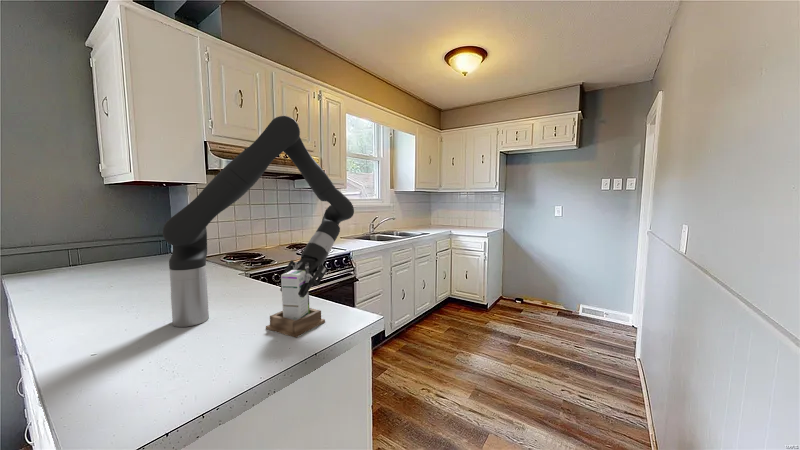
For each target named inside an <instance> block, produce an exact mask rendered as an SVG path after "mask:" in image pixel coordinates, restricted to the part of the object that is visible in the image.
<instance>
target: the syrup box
mask: <svg viewBox="0 0 800 450" xmlns="http://www.w3.org/2000/svg"><path fill="white" fill-rule="evenodd" d="M280 281H281V282H280V283H281V284H280V285H281V286H282V292H281V302H282V311H283V317H284V318H288V319H292V320H295V321H296V320H298V319H300V318H302V317H304V316H306V315H308V314H310V310H309V308H310V290H309V291H308V293H307V294H306V295H305V296H304V297H300V296H299V295H298V293H299V291H300V289H301V287H302V286H303V284H304V283H306V282H305V281H306V277H305V270H291V271H289V272H287V273H285V274H283V273H282V274H280Z"/></svg>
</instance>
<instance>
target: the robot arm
mask: <svg viewBox="0 0 800 450" xmlns="http://www.w3.org/2000/svg"><path fill="white" fill-rule="evenodd" d="M300 130H301V129H300V127H299V124H298V122H297V121H296V120H295V119H294V118H293V117H291V116H287V115H279V116H276V117H275V118H273V119H272V120H271V121H270V122H269V124H268V125H267V126H266V128H265V129H263V131H262V133H261V134H260V135H259V136H258V137H257V138H256V139H255V141H253V143H251V144H250V145H249V146H247V148H245V149H244V150H243V151H241V152H240V153H239V154H238V155H236V157H234V158H233V159H232V160H231V161H230V162H229V163H227V164H226V165H225V166H224V168H222V169H221V170H220V171H219V172H218V173H217V174H216V175H215V176H214V177H213V178H212V179H211V180H210V182H209V183H207V185H206V186H205V187H203V189H202V190H201V192H199V194H198V195H197V196H196V197H195V198H194V199H192V201H191V202H189V203H188V204H186V205H185V206H184V207H183V208H182V209H181V210H180V211H178V212H177V213H176V214H174V215H172V217H170V218H169V219H167V221H166V222H165V223H164V225H163V228H162V237H163V239H164V240H165V242H166V243H167V244H169V245H171V246H172V251H171V256H170V258H169V260H168V266H169V267H168V268H169V269H168V270H169V282H170V302H171V303H170V304H171V319H172V325H173V326H174V327H177V328H186V327H192V326H193V327H194V326H196V325H200V324H202V323H204V322H206V321H207V320H209V319H210V314H209V312H210V311H209V296H208V279H207V278H208V276H207V257H208V256H207V255H208V230H207V226H208V225H209V224H210V223H211V222H212V221H213V220H214V219H215V218H216V217H217V216H218V215H219V214H220V213H222V212H223V211H225V210H226V209H228V207H230V206H232V205H233V204H234V203H236V202H237V201H238V200H239V199H241V198H242V197H243V196H244V195H245V194H246V193H247V192H248V191H250V189H251V188H253V186H255V184H257V182H258V180H260V178H261V177H262V175H264V173H265V172H266V170H267V169H268V168H269V166H270V164H271V163H272V162H273V161H274V160H275V159H276V158H277V157H278V156H280V155H281V154H282V153H284V154H285V155H286V156H287V157H288V158H289V159H290V161H292V163H293V164H294V166H295V167H296V168H297V169H298V171H299V172H300V174H301V175H302V177H303V178H304V180H305V182H306V183H307V185H308V186H309V187H310V189H311V190H312V192H313V193H314V194H315V196H316V197H317V198H318V200H320V202H327V203H328V204H330V205H329V206H328V207H327V208H326V210H325V211H324V213H323V217H322V220H321V223H320V225H319V226H318V228H317V229H316V231H315V232H314V234H313V235H312V236H311V237H310V239H309V241H308V242H307V244H306V246H305V247H304V248H303V251H302V252H301V254H300V260H298V261H297V262H295V261H294V260H290V261H289V262H288V264H287V266H286V268H285V269H284V272H283V273H282V274H285V273H287V272H289V271H291V270H305V277H306V281H305V282H306V283H304V284H303V286H302V287H301V289H300V291H299V293H298V295H299V296H300V297H304V296H305V295H306V294H307V293H308V291H309V292H310V289H311V288H312V287H313V286H316V287H317V286H319V285H320V283H321V281H322V279H324V276H325V275H326V273H327V272H328V270H327V268H326V267H325V266H324V263H325V261H326V260H327V259H328V256H329V254H330V253H331V251H332V248H333V246H334V244H335V242H336V240H337V238H338V236H339V234H340V232H341V227H340V224H341V222H343V221H344V222H345V221H348V220H350V219H351V218H353V217H354V214H355V209H354V205H353V203H352V202H351V200H350V199H349V198H348V197H347V196H346V195H344V194H343V193H342V191H340V190H339V189H338V188H337V187H336V186H335V185H334V183H333V181H332V180H331V178H329V176H328V174H327V173H326V172H325V170H324V169H323V168H322V167H321V166H320V165H319V164H318V162H317V160H315V159H314V158H313V156H312V155H311V154H310V152H309V151H308V149H307V148H306V146H305V145H304V142H303V141H302V139H301V136H300V135H301V131H300ZM279 291H280V292H281V293H282V285H281V287H280V289H279Z"/></svg>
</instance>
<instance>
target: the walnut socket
mask: <svg viewBox="0 0 800 450" xmlns="http://www.w3.org/2000/svg"><path fill="white" fill-rule="evenodd" d="M309 310H310V314H308V315H306V316H304V317H302V318H300V319H298V320H296V321H295V320H292V319H288V318H284V317H283V310H280V311H279V312H276V313H274V314H271V315H269V324H268V325H265V330H269V331H272V332H274V333H279V334H281V335H284V336H289V337H292V338H295V339H296V338H298V337H300V336H302V335H304V334H306V333H308V332H309V331H311V330H313V329H315V328H316V327H318V326H320V325H323V324H324V323H326V319H324V318H322V310H320V309H316V308H312V307H309Z"/></svg>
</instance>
